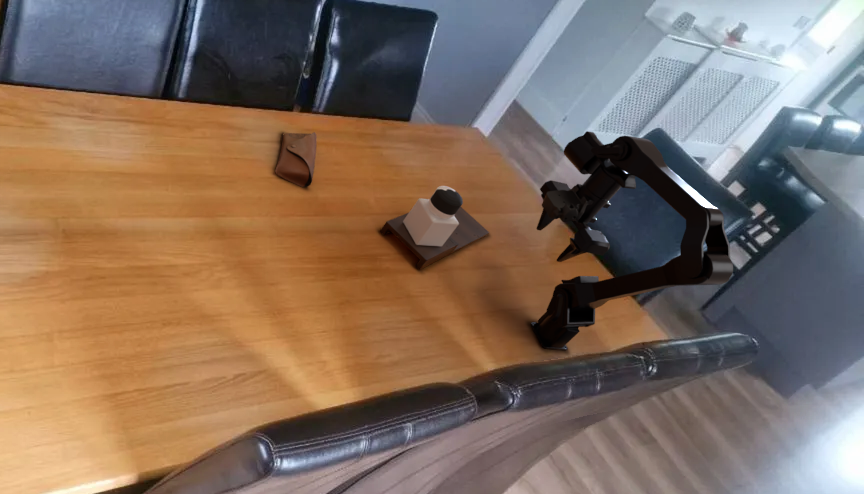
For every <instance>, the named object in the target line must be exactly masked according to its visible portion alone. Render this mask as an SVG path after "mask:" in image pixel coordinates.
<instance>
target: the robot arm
mask: <svg viewBox="0 0 864 494" xmlns="http://www.w3.org/2000/svg"><path fill="white" fill-rule="evenodd" d="M563 156H565V157H566V158H567V160H569V162H571V164H572V165H573V166H574V167H575V169H576V170H577V171H578V172H579V173H580V174H581V175H589V176H588V177H587V179H585V181H584V182H583V183H582V184H581V183H576V184H575V185H574V186H572V187H570V186H569V185H568V183H565V182H561V181H557V180H547V181H545V182H544V183H543V184H542V185H541V186H540V188H539V191H540V192H541V193H540V197H541V199H542V203H541V207H542V211H541V215H540V217H539V219H538V223H537V226H536V230H537V231H542V230H543V229H545V228H547V227H548V226H549V225H550V224H551V223H552V222H553V221H554V220H558V219H560V220H561V222H562V223H566V222H572V223H573V226H575V228H576V229H577V231H576V232H575V233H574V234H573V237H569V244H568V246H567V247H566V248H565V249H564V250H563V251H562V252H561V253H560V254H559V255H558V256H557V258H556V262H557V263H562V262H565V261H568V260H569V259H572V258H575V257H578V256H580V255H584V254H587V253H588V254H593V255H599V256H604V255H605V254H606V253H607V252H608V251H609V249H611V248H610V247H611V243H610V242H609V240H608V239H607V238H606V236H605V235H604V233H603V232H602V231H601V230H596V229H591V227H590V226H589V225H588V224H589V223H591V224H595V222H597V220H598V219H597V217H596V216H597V214H598V213H599V212H600V211H601V210H602V209H603V208H604V209H609V207H610V206H612V204H611V203H610V200H611V199H612V198H613V197H614V196H615V195H616V194H617V193H618V191H620V189H621V188H622V189H630V190H635V189H637V182H636V178H638V179H640V180H641V181H643V182H644V183H645V184H646V185H647V186H648V187H650V189H652V190H653V191H654V192H655V193H656V194H657V195H658V196H659V197H660V198H661V199H663V200H664V201H665V203H667V204H668V205H669V206H670V207H671V208H672V209H673V210H675V211H676V212H677V213H678V214H679V215H680V216H681V217H682V218H683V219H684V220H685V229H684V233H683V236H682V238H681V242H680V246H679V247H680V248H679V249H680V250H679V251H680V253H679V255H677V256H675V257H673V258H671V259H670V260H668V261H667V262H666V263H664V264H662V265H661V266H660V265H659V266H656V267H652V268H648V269H644V270H639V271H635V272H630V273H627V274H623V275H619V276H614V277H611V278H608V279H603V280H599V276H597V275H578V276H575V277H572V278H570V279H561V280H560V282H561V283H559V284H557V285H556V286H555V287H554V289H553V292H552V296H551V298H550V301H549V303H548V306H547V307H546V311H545V312H544V313H543V314H542V315H541V316H540V317H539V318H538V319H537V320H536V321H532V322H530V324H529V325H530V327H531V329H532V330H533V332H534V334H535V336H536V338H537V339H538V342H539V343H540V346H541V347H542V348H543V349H547V350H555V351H568V348H569V347H568V346H567V344H568V343H569V342H570V341H571V340H572V339H574V337H576V336H577V335H578V334H579V333H580V332H581V331H580V329H579V328H589V327H590V326H594V325H595V324H596V309H597V308H600V307H602V306H604V305H605V304H606V303H608V302H609V301H612V300H613V301H614V300H617V299H621V298H626V297H632V296H636V295H641V294H645V293H650V292H655V291H659V290H664V289H669V288H674V287H682V286H683V287H685V286H686V287H688V286H719V285H723V284H725V283H727V282H729V281H730V278H731V277H732V276H733V272H734V264H733V261H732V259H731V245H730V241H729V238H728V236H727V232H726V230H725V217H724V214H723V212H722V210H721V209H720V208H718V207H716V206H714V205H713V204H711V202H709V201H708V200H707V199H706V198H704V197H703V196H702V195H701V194H700V193H699V192H698V191H697V190H695V189H694V188H693V187H692V186H691V185H690V184H688V183H687V182H686V181H685V180H684V179H682V178H681V177H680V176H679V175H678V174H677V173H676V172H675V171H674V170H673V169H671V168H670V167H669V166H668V165H667V163H666V162H665V160H664V157H663V154H662V153H661V151H660V150H659V149H658V148H657V146H656V145H655V144H654V143H653V142H652V141H651V140H650V139H648V138H643V137H637V136H630V135H620V136H619V137H617V138H615V139H614V140H613V141H612V142H609V143H605V144H604V143H603V142H602V140H600V138H599V137H598V136H597V134H596V133H595V132H593V131H588V130H587V131H585V132H584V133H583V135H580V136H577V137H575V138H574V139H572V140H571V141H569V142H568V143H567V144H566V145H565V147H564V149H563ZM704 244H705V245H706V250H704Z"/></svg>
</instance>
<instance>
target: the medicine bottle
mask: <svg viewBox="0 0 864 494" xmlns="http://www.w3.org/2000/svg"><path fill="white" fill-rule="evenodd" d="M463 204H464V201H463V197H462V196H461V194H460V193H459V192H458V191H457V190H455V189H454V188H452V187H450V186H447V185H440V186H437V188H436V189H435V190H434V192H433V193H432V195H431V196H430V198H421V197H420V198H418V199H417V200H416V202H415V203H414V204H413V206H412V208H411V209H410V211H409V212H407V213H408V215H407V216H406V218H405V219H404V221H403V223H404V225H405V226H406V228H407V230H408V231H409V233H410V235H411V237H412V238H413V240H414V242H415V244H416V245H427V246H443V244H444V243H445V242H446V240H447V239H448V238H449V236H450V235H451V234H452V232H453V231H454V230H455V229H456V227H457V226H458V225H459V222H458V221H457V219H456V218H455V216H454V215H455V213H456V212H457V211H458V209H459V208H460V207H462V206H463Z"/></svg>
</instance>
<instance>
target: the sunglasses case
mask: <svg viewBox="0 0 864 494" xmlns="http://www.w3.org/2000/svg"><path fill="white" fill-rule="evenodd" d="M284 133H285V134H284ZM283 134H284V135H283ZM317 138H318V136H317V133H316V132H315V131H313V132H312V133H302V132H301V133H300V132H299V133H296V132H293V133H292V132H282V133H281V146H280V153H279V157H278V161H277V164H276V168H275V169H274V173H275V175H277V176H278V177H279V178H282V179H284V180H286V181H287V182H290V183H292V184H293V185H296V186H298V187H301V188H308V187H310V186H311V185H312V183H313V177H314V173H315V164H316V156H317V143H318V142H317Z"/></svg>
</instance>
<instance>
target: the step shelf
mask: <svg viewBox="0 0 864 494" xmlns="http://www.w3.org/2000/svg"><path fill="white" fill-rule="evenodd" d="M408 213H409V212H406V213H404V214H401V215H399V216H397V217H394V218H392V219H389V220H387V221H385V223H384V224H383V226H382V227H381V229H380V230H379V232H380V233H381V234H382V235H383V236H384V235H387V234H389V233H392V234H393V235H394V236H395V237H396V238H397V239H398V240H399V241H400V242H401V243H402V244H403V245H405V246H406V248H408V249H409V250H410V251H411V252H412V254H414V255H415V256H416V257H417V258H418V259H419V260H418V262H417V263H416V264H415V267H416V268H417V270H422V269H424V268H427V267H428V266H430V265H431V264H434V263H436V262H438V261H440V260H442V259H443V258H446V257H448V256H450V255H451V254H453V253H455V252H457V251H459V250H461V249H463V248H465V247H467V246H469V245H471V244H473V243H475V242H477V241H479V240H482V238H484V237H486V236H488V235H489V234H490V231H488V230H487V229H486V228H485V227H484V226H483V225H482V224H481V223H480V222H478V221H477V220H476V219H475V218H474V217H473V216H472V215H471V214H470V213H469V212H467V211H466V210H465V209H464V208H463V207H462V206H461V207H460V208H459V209H458V211H457V212H456V213H455V215H454V216H455V218H456V219H457V221H458V222H459V225H458V226H457V227H456V229H455V230H454V231H453V232H452V234H451V235H450V236H449V238H448V239H447V240H446V242H445V243H444V244H443V246H427V245H416V244H415V242H414V240H413V238H412V237H411V235H410V233H409V231H408V230H407V228H406V226H405V225H404V223H403V221H404V219H405V218H406V216H407V215H408Z"/></svg>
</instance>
